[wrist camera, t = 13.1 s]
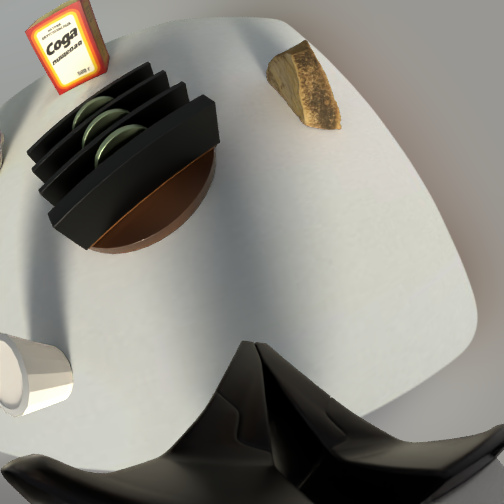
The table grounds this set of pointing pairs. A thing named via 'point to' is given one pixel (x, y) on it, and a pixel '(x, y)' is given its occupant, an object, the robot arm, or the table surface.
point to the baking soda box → (69, 45)
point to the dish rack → (120, 151)
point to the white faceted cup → (31, 375)
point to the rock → (304, 86)
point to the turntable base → (161, 209)
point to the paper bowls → (0, 144)
